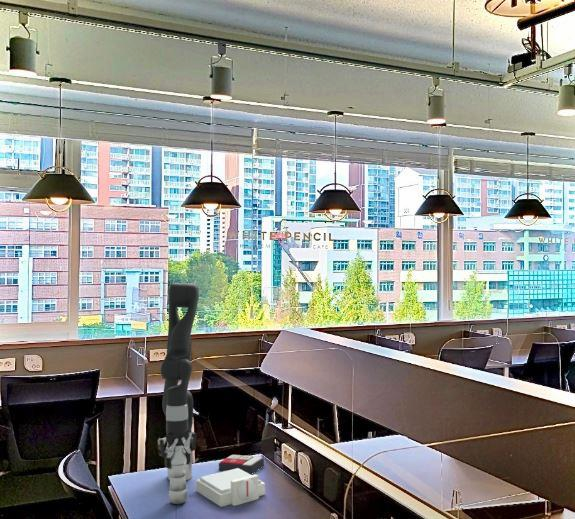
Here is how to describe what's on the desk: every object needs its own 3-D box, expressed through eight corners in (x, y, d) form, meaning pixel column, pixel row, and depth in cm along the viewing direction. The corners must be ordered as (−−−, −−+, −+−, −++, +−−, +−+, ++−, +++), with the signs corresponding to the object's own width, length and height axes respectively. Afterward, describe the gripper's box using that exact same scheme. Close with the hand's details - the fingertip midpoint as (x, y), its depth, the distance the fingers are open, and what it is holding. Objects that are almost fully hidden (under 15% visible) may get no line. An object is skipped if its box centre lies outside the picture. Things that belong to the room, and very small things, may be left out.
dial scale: (196, 490, 216) (196, 468, 216) (239, 479, 226) (238, 458, 226) (224, 509, 199) (224, 485, 199) (269, 497, 209) (269, 474, 209)
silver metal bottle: (191, 500, 207) (190, 442, 207) (181, 507, 201) (181, 448, 201) (174, 498, 209) (174, 440, 210) (164, 505, 203) (164, 446, 203)
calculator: (231, 453, 248) (263, 455, 242) (232, 464, 248) (264, 466, 242) (218, 461, 238) (251, 464, 232) (218, 472, 238) (251, 475, 232)
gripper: (191, 412, 213) (191, 459, 212) (153, 418, 204) (153, 467, 204) (200, 416, 206) (201, 464, 206) (162, 423, 198) (162, 473, 198)
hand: (177, 465), depth 205 cm, fingers closed on silver metal bottle, 6 cm apart
